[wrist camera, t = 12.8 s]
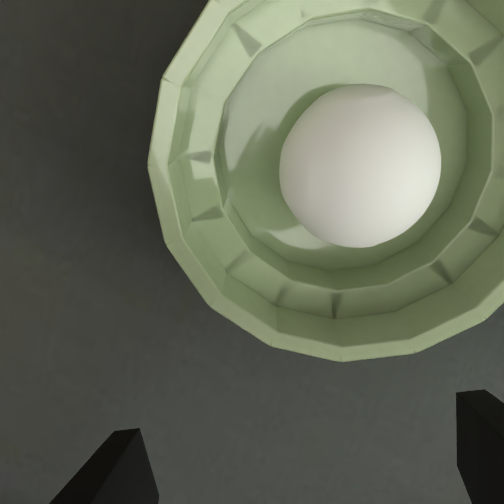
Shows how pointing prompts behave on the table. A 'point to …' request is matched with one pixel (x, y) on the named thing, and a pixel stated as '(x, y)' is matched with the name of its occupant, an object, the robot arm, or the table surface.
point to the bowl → (268, 161)
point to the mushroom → (360, 165)
